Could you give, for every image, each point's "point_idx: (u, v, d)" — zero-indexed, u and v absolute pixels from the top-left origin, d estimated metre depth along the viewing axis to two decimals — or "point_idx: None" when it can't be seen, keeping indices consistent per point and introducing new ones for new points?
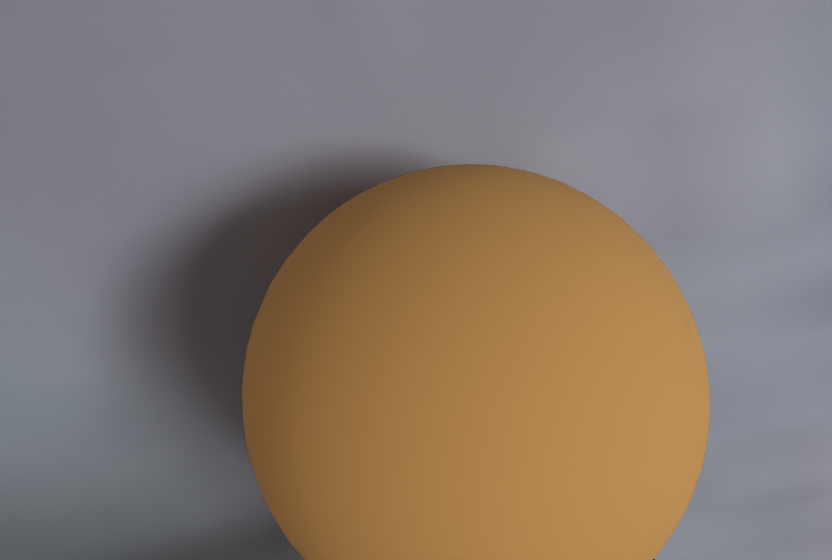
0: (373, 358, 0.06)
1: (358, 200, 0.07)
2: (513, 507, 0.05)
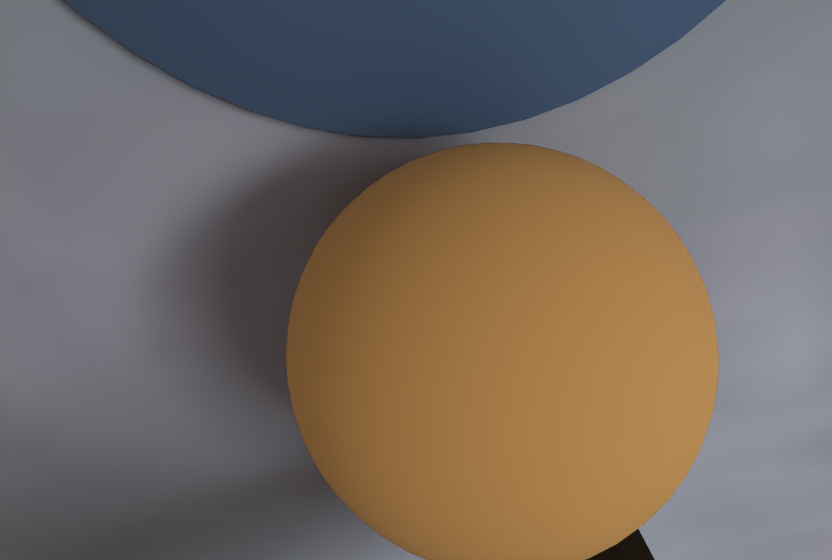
0: (407, 163, 0.08)
1: None
2: (483, 193, 0.07)
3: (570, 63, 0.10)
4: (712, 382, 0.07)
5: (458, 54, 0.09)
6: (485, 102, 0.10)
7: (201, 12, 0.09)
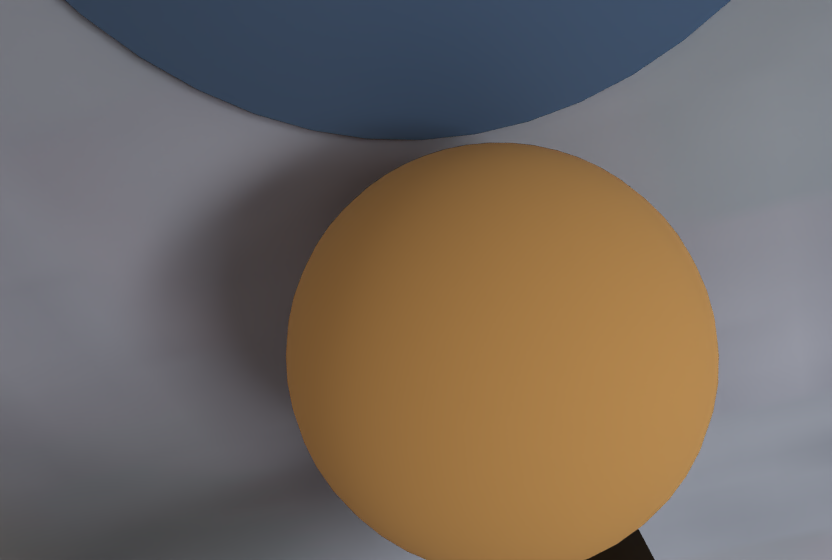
0: (407, 163, 0.08)
1: None
2: (483, 192, 0.07)
3: (573, 65, 0.10)
4: (712, 382, 0.07)
5: (461, 56, 0.10)
6: (488, 104, 0.10)
7: (205, 15, 0.09)
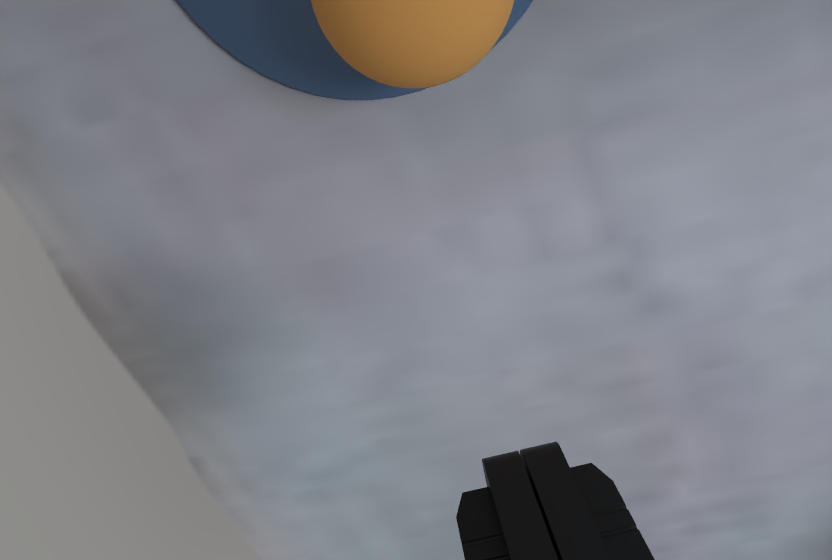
0: None
1: (381, 82, 0.18)
2: None
3: None
4: None
5: None
6: None
7: (270, 43, 0.20)
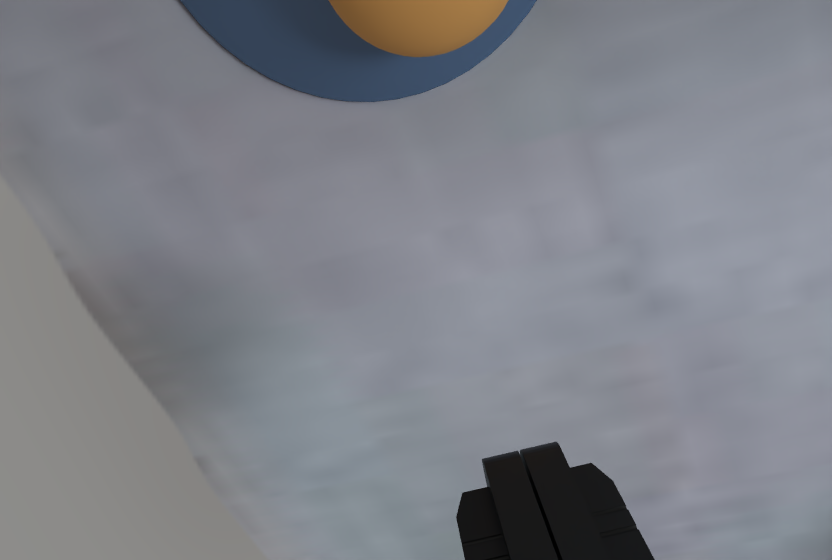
0: None
1: (389, 46, 0.17)
2: None
3: (440, 66, 0.21)
4: None
5: (388, 62, 0.21)
6: (402, 84, 0.21)
7: (275, 46, 0.20)
